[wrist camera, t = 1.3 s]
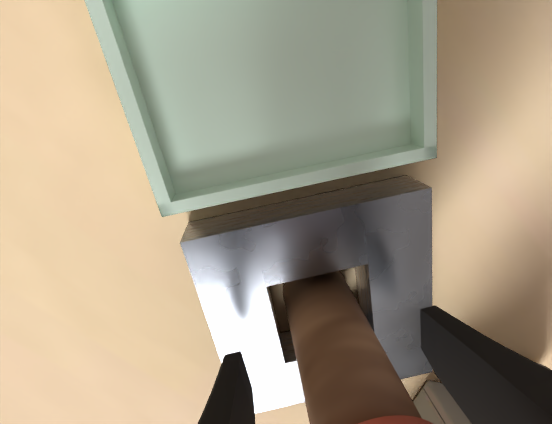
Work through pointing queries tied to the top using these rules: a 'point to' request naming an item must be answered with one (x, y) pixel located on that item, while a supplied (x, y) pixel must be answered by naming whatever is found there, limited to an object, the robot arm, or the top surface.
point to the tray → (270, 91)
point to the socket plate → (315, 274)
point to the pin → (342, 357)
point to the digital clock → (439, 405)
